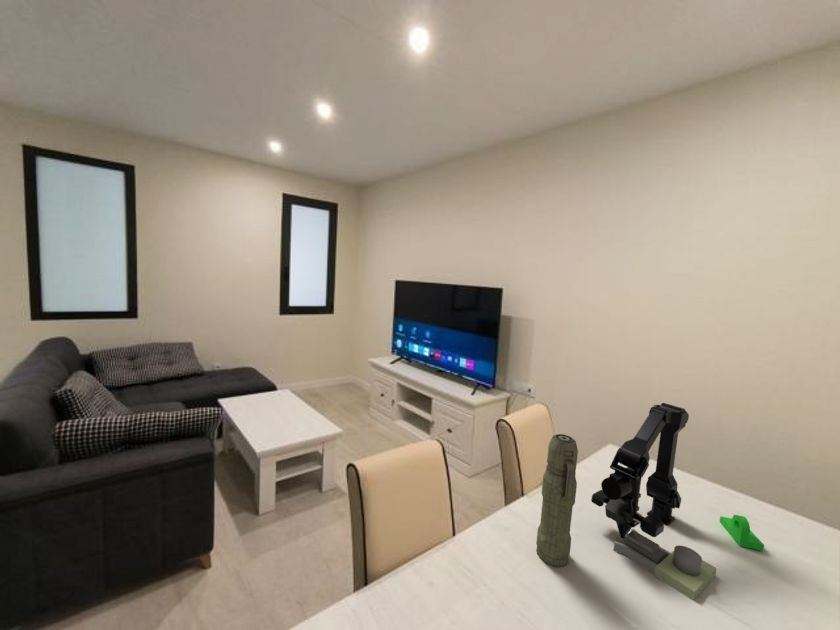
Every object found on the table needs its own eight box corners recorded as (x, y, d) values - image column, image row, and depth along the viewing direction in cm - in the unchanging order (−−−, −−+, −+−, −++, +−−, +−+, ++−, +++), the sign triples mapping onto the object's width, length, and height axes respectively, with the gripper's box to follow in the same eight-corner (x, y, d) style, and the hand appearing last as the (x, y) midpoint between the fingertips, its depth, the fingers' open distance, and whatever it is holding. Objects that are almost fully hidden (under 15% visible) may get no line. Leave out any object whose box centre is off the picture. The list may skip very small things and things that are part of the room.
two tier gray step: (630, 544, 108) (632, 528, 107) (663, 565, 100) (666, 547, 100) (622, 550, 105) (624, 534, 105) (655, 572, 98) (657, 554, 97)
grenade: (549, 574, 94) (562, 448, 91) (527, 542, 106) (538, 429, 103) (579, 571, 96) (592, 447, 93) (554, 539, 107) (565, 428, 104)
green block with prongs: (638, 531, 114) (640, 512, 113) (715, 576, 97) (718, 554, 97) (611, 549, 105) (614, 529, 104) (692, 602, 88) (695, 578, 88)
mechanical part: (763, 551, 109) (767, 526, 108) (739, 545, 110) (743, 521, 110) (740, 525, 120) (743, 503, 119) (719, 521, 122) (722, 499, 121)
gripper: (584, 480, 110) (578, 528, 111) (649, 515, 94) (642, 569, 96) (603, 472, 116) (598, 516, 117) (668, 503, 101) (661, 554, 102)
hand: (622, 537), depth 108 cm, fingers closed
